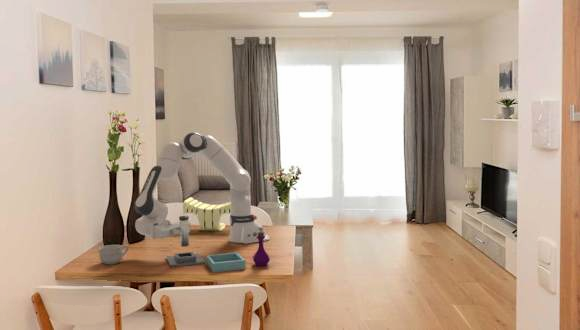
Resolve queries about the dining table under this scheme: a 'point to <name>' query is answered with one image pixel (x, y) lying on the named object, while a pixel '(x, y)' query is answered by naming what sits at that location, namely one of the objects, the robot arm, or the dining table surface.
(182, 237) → the lock pin
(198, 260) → the tensioner plate
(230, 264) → the tray
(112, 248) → the teacup
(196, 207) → the slatted curved stool
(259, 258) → the perfume bottle
